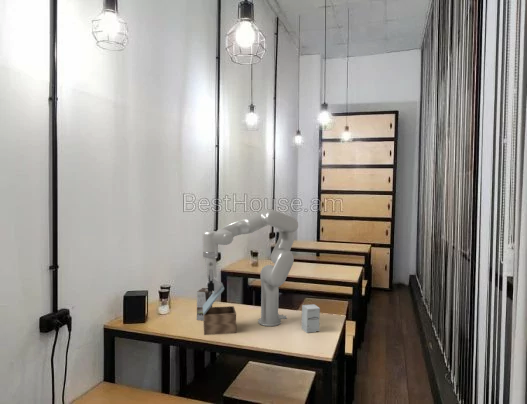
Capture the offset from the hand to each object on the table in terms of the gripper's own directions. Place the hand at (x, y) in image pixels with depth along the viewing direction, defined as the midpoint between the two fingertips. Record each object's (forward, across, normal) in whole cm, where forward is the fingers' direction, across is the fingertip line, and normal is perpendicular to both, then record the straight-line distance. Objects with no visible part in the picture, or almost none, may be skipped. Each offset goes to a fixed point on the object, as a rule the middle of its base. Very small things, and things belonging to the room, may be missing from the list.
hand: (210, 289), depth 190 cm
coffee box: (+21, +19, +3) cm, 29 cm away
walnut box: (+21, 0, -4) cm, 22 cm away
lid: (+5, 0, -1) cm, 5 cm away
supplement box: (+23, -8, -51) cm, 56 cm away
